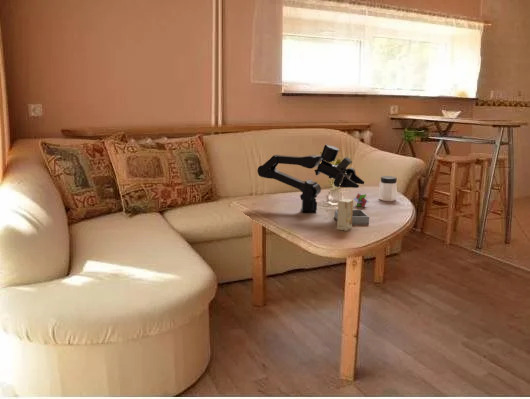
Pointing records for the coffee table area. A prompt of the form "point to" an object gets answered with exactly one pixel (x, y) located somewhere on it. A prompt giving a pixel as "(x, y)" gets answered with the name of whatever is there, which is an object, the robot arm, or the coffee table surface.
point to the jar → (388, 188)
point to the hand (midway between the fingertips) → (361, 184)
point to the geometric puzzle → (361, 200)
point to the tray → (357, 217)
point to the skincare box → (345, 214)
